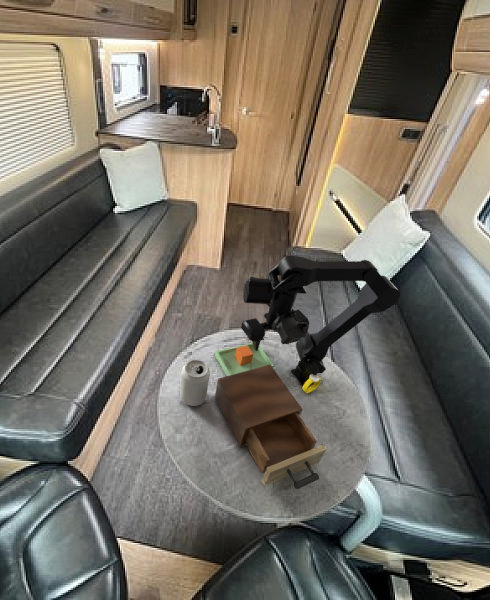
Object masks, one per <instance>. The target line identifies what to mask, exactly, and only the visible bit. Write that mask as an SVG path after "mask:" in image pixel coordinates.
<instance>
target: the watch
mask: <svg viewBox="0 0 490 600" xmlns="http://www.w3.org/2000/svg"><path fill="white" fill-rule="evenodd" d="M313 382H314V383H313ZM321 382H322V378H321V377H319V375H318V374H317V375H313V374H311V375H310V377H309V379H308V380H307V381H306V382H305V384H303V386H302V391H303V392H304V393H305V394H309V393H311V392H313V391H315V390H316V389H318V387H319V386H320V384H321Z"/></svg>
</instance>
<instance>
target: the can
mask: <svg viewBox="0 0 490 600" xmlns="http://www.w3.org/2000/svg"><path fill="white" fill-rule="evenodd" d="M210 377H211V371H210V367H209V366H208V364H207V363H206V362H205V361H203V360H201V359H196V358H195V359H190V360H188V361H187V362H186V363H185V364H184V365H183V366H182V368H181V376H180V387H179V397H180V400H181V401H182V402H183V403H184V404H185V405H188V406H191V407H197V406H200V405H202V404H203V403H204V402H205V401H206V399H207V395H208V390H209V382H210Z"/></svg>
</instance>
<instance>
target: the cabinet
mask: <svg viewBox="0 0 490 600" xmlns="http://www.w3.org/2000/svg"><path fill="white" fill-rule="evenodd" d="M214 399H215V401H216V403H217V405H218V406H219V409H220V411H221V413H222V415H223V417H224V419H225V421H226V423H227V425H228V427H229V429H230V431H231V433H232V434H233V436H234V438H235V440H236V443H237V444H238V446H239V448H241V447H244V446H247V445H246V443H245V441H244V440H245V437H246V433H247V430H248V429H251V428H254V427H256V426H259V425H262V424H265V423H268V422H271V421H274V420H277V419H279V418H282V417H285V416H288V415H291V414H294V413H298V415H299V416H300V417H301V414H302V411H303V407H302V406H301V404H300V403H299V401H298V400H297V399H296V397H295V396H294V395H293V393H292V392H291V390H290V389H289V388H288V387H287V386H286V384H285V382H283V380H282V378H281V377H280V376H279V374H278V373H277V372H276V370H275V369H274V368H272V366H271V365H267V366H263V367H259V368H256V369H252V370H248V371H244V372H241V373H237V374H233V375H230V376H227V375H226V376H222V377H218V378H217V384H216V387H215V393H214Z"/></svg>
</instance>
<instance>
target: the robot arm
mask: <svg viewBox="0 0 490 600" xmlns="http://www.w3.org/2000/svg"><path fill="white" fill-rule="evenodd" d="M266 276H267V278H263V277H262V278H261V277H255V276H248V278H247V280H246V281H245V283H244V285H243V290H242V291H243V294H242V295H243V296H242V297H243V298H242V299H243V302H244V304H252V305H253V304H254V305H255V304H256V305H267V306H268V312H265V313H264V315H263V317H264V318H265V322H261V323H260V322H259V320H258V319H257V318H256V317H255V318H250V319H246V320H242V322H241V325H240V326H241V327H240V329H241V330H242V331H243V333H244V334H245V336H246V337H247V338H248V340H249V341H251V343H253V346H254V349H255V351H257V350H258V348H259V346H261V345H260V344H261V341H264V340H265V338H264V337H265V336H266V332H269V331H274V332H275V331H276V332H277V334H278V336H279V338H280V343H281V344H282V345H290V344H293V343H295V348H296V353H297V355H298V357H299V360H298V363H297V365H296V367H295V368H292V369H291V370H290V372H291V374H292V375H293V377H294V378H295V379H296V381H298V383H299V384H300V385H301V386H302V387H303V385H304V384H305V382H306V381H307V380H308V379H309V377H310V375H311V374H313V375H318V374H323V373H324V372H325V371H326V370H327V368H326V366H325V363H324V359H325V358H326V355H328V354H327V353H328V352H329V349H330V347H331V346H332V345H333V344H335V343H336V342H337V341H338V340H339V339H341V338H342V337H343V336H345V335H346V334H347V333H348V332H350V331H351V330H353V328H355V327H356V326H357V325H358V324H360V323H361V322H362V321H364V320H365V319H367V318H368V317H369V316H370V315H371V314H377V313H383V312H385V311H387V310H388V309H390V308H392V307H393V306H395V305H396V304H397V303H398V302H399V301H400V300H401V298H400V297H401V291H400V290H399V289H398V288H397V287H396V286H395V285H394V283H393V282H391V280H390V279H389V278H388V277H387V276H385V275H381V274H380V272H379V270H378V268H377V267H376V266H375V265H374V264H373V263H372V261H370V260H367V259H362V260H358V261H357V260H355V261H354V260H352V261H351V260H345V261H339V260H338V261H337V260H336V261H335V260H334V261H318V260H317V261H316V260H311V259H309V258H307V257H304V256H299V255H298V256H297V255H287V256H283V258H282V259H281V260H280V261H279V262H278V264H276V265H275V266H274V267H273V268H272V269H271V270H269V271H268V272H267V273H266ZM279 276H280V278H281V281H280V279H279ZM318 282H365V284H364V285H363V286H362V287H361V288H360V291H359V294H358V296H357V298H356V300H354V301H353V302H352V303H351V304H349V306H347V307H346V308H345V309H343V311H342V312H340V313H339V314H338V315H336V316H335V317H334V318H333V319H332V320H331V321H330V322H328V323H327V324H326V325H325V326H323V328H321V329H320V330H319V331H318V332H313V333H310V332H309V328H310V319H309V318H308V317H307V316H306V315H305V314H304V313H303V312H302V311H301V310H300V309H293V308H294V305H295V301H296V299H297V296H298V294H305V295H306V294H307V292H308V291H307V290H306V287H308V286H309V285H311V284H313V283H318ZM312 384H314V382H313V383H312Z"/></svg>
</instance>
